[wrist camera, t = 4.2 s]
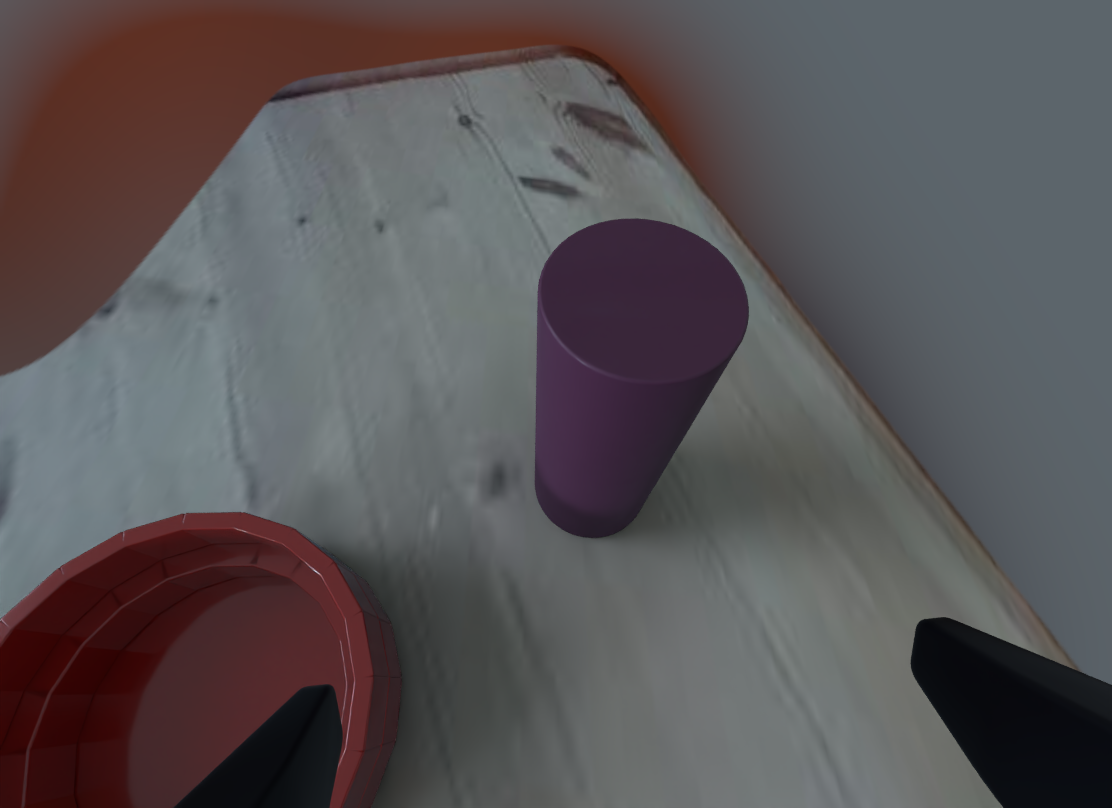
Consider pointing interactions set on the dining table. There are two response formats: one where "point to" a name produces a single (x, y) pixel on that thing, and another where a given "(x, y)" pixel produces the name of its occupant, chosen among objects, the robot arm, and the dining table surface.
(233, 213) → the dining table surface
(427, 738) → the dining table surface
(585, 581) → the dining table surface
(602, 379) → the canister
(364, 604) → the bowl
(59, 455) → the dining table surface
